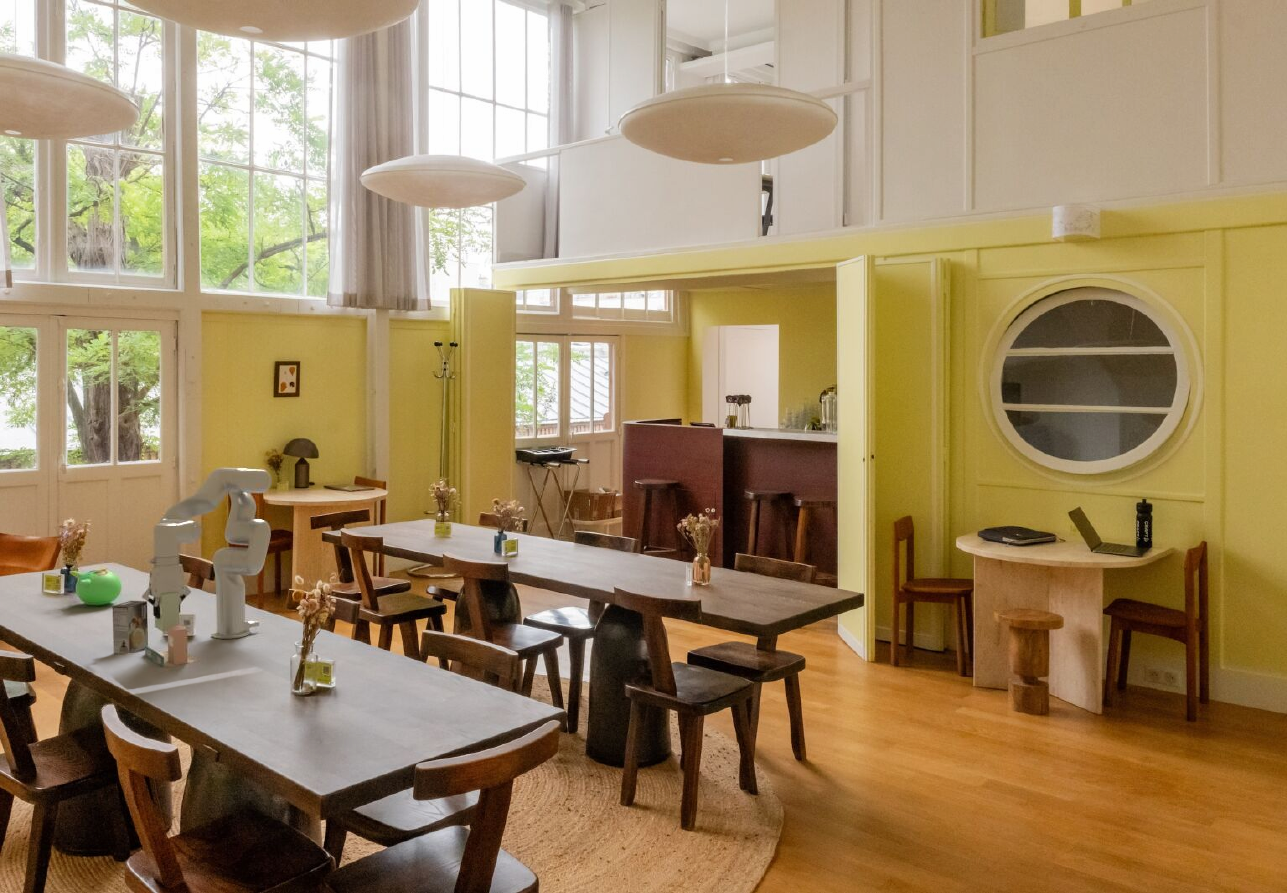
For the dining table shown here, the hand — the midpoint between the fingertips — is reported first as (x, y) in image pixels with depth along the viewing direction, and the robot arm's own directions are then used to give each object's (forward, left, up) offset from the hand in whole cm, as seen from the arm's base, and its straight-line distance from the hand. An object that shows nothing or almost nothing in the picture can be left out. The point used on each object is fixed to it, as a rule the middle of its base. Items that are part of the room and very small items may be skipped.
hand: (166, 616), depth 320 cm
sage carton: (0, 0, -4) cm, 4 cm away
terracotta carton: (0, +10, -13) cm, 16 cm away
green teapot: (-3, -99, -15) cm, 100 cm away
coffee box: (+6, -19, -15) cm, 25 cm away
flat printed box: (0, +4, -14) cm, 15 cm away
